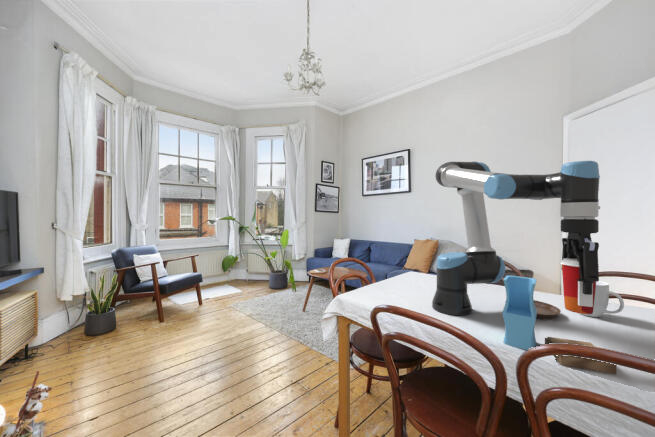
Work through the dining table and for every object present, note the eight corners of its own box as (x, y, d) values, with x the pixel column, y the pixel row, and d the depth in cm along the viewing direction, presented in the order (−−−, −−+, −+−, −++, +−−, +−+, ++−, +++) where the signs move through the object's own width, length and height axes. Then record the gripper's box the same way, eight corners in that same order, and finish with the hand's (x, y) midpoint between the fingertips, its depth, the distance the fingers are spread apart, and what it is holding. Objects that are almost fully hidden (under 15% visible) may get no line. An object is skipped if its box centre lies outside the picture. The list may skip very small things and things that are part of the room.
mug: (626, 318, 99) (627, 284, 99) (620, 325, 93) (621, 289, 93) (574, 307, 111) (574, 276, 111) (565, 312, 105) (566, 280, 105)
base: (560, 364, 69) (561, 353, 69) (544, 345, 80) (544, 335, 80) (616, 374, 65) (616, 362, 65) (591, 352, 76) (591, 342, 75)
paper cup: (593, 308, 73) (593, 259, 73) (603, 317, 67) (603, 263, 67) (556, 303, 78) (557, 256, 77) (562, 312, 71) (563, 260, 71)
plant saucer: (572, 323, 96) (572, 315, 96) (519, 320, 99) (519, 312, 99) (542, 306, 113) (542, 299, 113) (497, 304, 117) (497, 297, 116)
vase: (502, 343, 81) (503, 279, 80) (506, 334, 87) (506, 274, 86) (534, 352, 76) (535, 284, 75) (536, 342, 82) (537, 278, 81)
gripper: (620, 219, 61) (619, 316, 62) (578, 217, 79) (577, 293, 80) (579, 218, 64) (578, 312, 65) (547, 217, 82) (547, 290, 82)
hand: (578, 301), depth 72 cm, fingers closed on paper cup, 6 cm apart
